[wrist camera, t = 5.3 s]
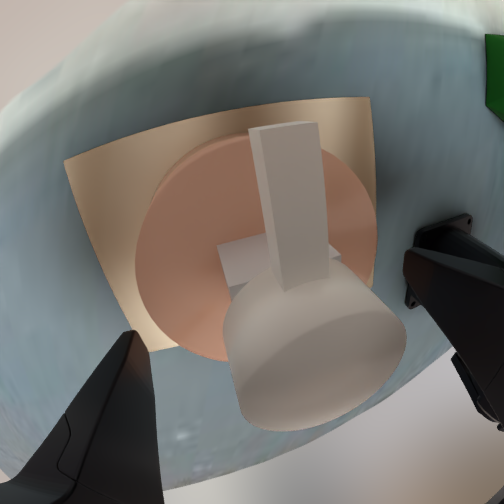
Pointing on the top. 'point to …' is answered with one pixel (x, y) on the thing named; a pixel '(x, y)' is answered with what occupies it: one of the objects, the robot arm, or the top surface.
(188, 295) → the soap jar
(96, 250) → the birch board
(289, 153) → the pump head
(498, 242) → the top surface
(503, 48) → the milk carton
